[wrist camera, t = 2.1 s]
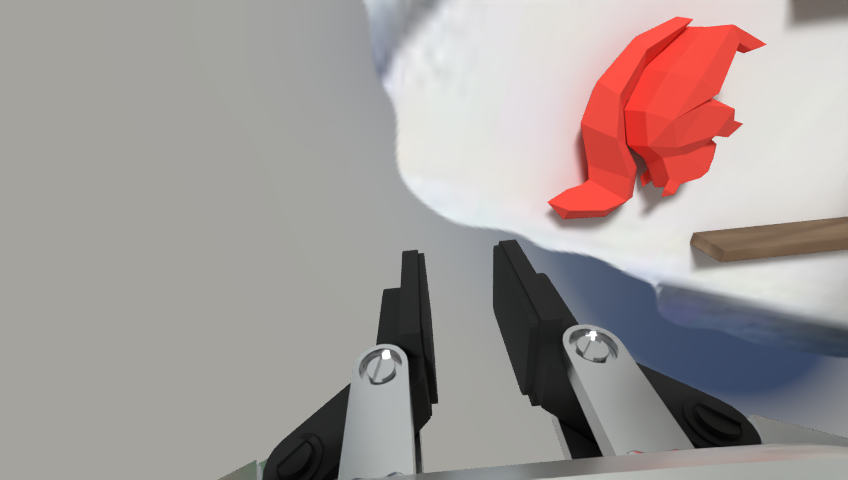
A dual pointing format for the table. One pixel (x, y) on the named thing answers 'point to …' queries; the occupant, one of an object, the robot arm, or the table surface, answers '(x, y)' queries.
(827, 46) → the table surface
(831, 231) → the frame
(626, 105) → the animal figurine
